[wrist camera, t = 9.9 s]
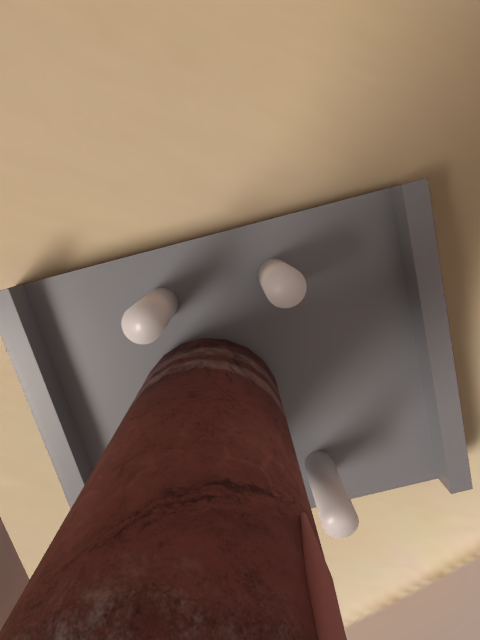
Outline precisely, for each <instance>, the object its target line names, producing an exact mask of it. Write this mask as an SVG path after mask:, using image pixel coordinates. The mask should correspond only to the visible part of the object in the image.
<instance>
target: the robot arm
mask: <svg viewBox="0 0 480 640" xmlns="http://www.w3.org/2000/svg"><path fill="white" fill-rule="evenodd" d="M29 581H30V580H29V578H28V576H27V574H26V571H25V569H24V567H23V565H22V563H21V561H20V559H19V556H18V554H17V552H16V550H15V548H14V546H13V544H12V541H11V539H10V537H9V535H8V533H7V531H6V529H5V527H4V524H3V522H2V520H1V518H0V631H1V629H2V627H3V625H4V624H5V622H6V620H7V619H8V617H9V615H10V613H11V612H12V610H13V608H14V606H15V605H16V603H17V601H18V600H19V598H20V596H21V594H22V593H23V591H24V589H25V587H26V586H27V584H28V582H29Z"/></svg>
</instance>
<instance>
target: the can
mask: <svg viewBox="0 0 480 640" xmlns="http://www.w3.org/2000/svg"><path fill="white" fill-rule="evenodd" d="M0 640H347V639H346V635H345V631H344V626H343V622H342V618H341V613H340V609H339V605H338V601H337V596H336V592H335V588H334V583H333V579H332V576H331V574H330V571H329V569H328V566H327V564H326V562H325V558H324V555H323V551H322V547H321V544H320V540H319V536H318V533H317V529H316V525H315V522H314V518H313V515H312V511H311V507H310V504H309V500H308V496H307V493H306V489H305V485H304V482H303V478H302V474H301V471H300V467H299V463H298V460H297V456H296V452H295V449H294V445H293V441H292V438H291V434H290V430H289V427H288V423H287V419H286V416H285V412H284V409H283V405H282V401H281V398H280V394H279V390H278V387H277V383H276V379H275V377H274V376H273V374H272V372H271V371H270V369H269V368H268V366H267V365H266V363H265V362H264V360H262V359H261V358H260V357H259V356H257V355H256V354H255V353H254V352H252V351H251V350H250V349H249V348H247V347H245V346H242V345H240V344H237V343H234V342H232V341H229V340H227V339H211V338H202V339H198V340H194V341H190V342H186V343H182V344H181V345H179V346H177V347H176V348H174V349H173V350H171V351H169V352H168V353H166V354H165V355H163V357H162V358H161V359H160V360H159V362H158V363H157V364H156V365H155V366H154V368H153V369H152V370H151V371H150V373H149V375H148V376H147V378H146V380H145V382H144V383H143V385H142V387H141V389H140V390H139V392H138V394H137V395H136V397H135V399H134V401H133V402H132V404H131V406H130V408H129V409H128V411H127V413H126V414H125V416H124V418H123V420H122V421H121V423H120V425H119V427H118V428H117V430H116V432H115V434H114V435H113V437H112V439H111V440H110V442H109V444H108V446H107V447H106V449H105V451H104V453H103V454H102V456H101V458H100V459H99V461H98V463H97V465H96V466H95V468H94V470H93V472H92V473H91V475H90V477H89V478H88V480H87V482H86V484H85V485H84V487H83V489H82V491H81V492H80V494H79V496H78V498H77V499H76V501H75V503H74V504H73V506H72V508H71V510H70V511H69V513H68V515H67V517H66V518H65V520H64V522H63V523H62V525H61V527H60V529H59V530H58V532H57V534H56V536H55V537H54V539H53V541H52V542H51V544H50V546H49V548H48V549H47V551H46V553H45V555H44V556H43V558H42V560H41V561H40V563H39V565H38V567H37V568H36V570H35V572H34V574H33V575H32V577H31V579H30V581H29V582H28V584H27V586H26V587H25V589H24V591H23V593H22V594H21V596H20V598H19V600H18V601H17V603H16V605H15V606H14V608H13V610H12V612H11V613H10V615H9V617H8V619H7V620H6V622H5V624H4V625H3V627H2V629H1V631H0Z"/></svg>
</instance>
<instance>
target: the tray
mask: <svg viewBox="0 0 480 640" xmlns="http://www.w3.org/2000/svg"><path fill="white" fill-rule="evenodd" d="M0 335H1V337H2V340H3V342H4V345H5V347H6V350H7V352H8V355H9V357H10V360H11V362H12V365H13V367H14V370H15V372H16V375H17V377H18V379H19V382H20V384H21V387H22V389H23V392H24V394H25V397H26V399H27V402H28V404H29V407H30V409H31V412H32V414H33V417H34V419H35V422H36V424H37V427H38V429H39V432H40V434H41V437H42V439H43V442H44V444H45V446H46V449H47V451H48V454H49V456H50V459H51V461H52V464H53V466H54V469H55V471H56V474H57V476H58V479H59V481H60V484H61V486H62V489H63V491H64V494H65V496H66V499H67V501H68V504H69V506H70V509H71V508H72V506H73V504H74V503H75V501H76V499H77V498H78V496H79V494H80V492H81V491H82V489H83V487H84V485H85V484H86V482H87V480H88V478H89V477H90V475H91V473H92V472H93V470H94V468H95V466H96V465H97V463H98V461H99V459H100V458H101V456H102V454H103V453H104V451H105V449H106V447H107V446H108V444H109V442H110V440H111V439H112V437H113V435H114V434H115V432H116V430H117V428H118V427H119V425H120V423H121V421H122V420H123V418H124V416H125V414H126V413H127V411H128V409H129V408H130V406H131V404H132V402H133V401H134V399H135V397H136V395H137V394H138V392H139V390H140V389H141V387H142V385H143V383H144V382H145V380H146V378H147V376H148V375H149V373H150V371H151V370H152V369H153V368H154V366H155V365H156V364H157V363H158V362H159V360H160V359H161V358H162V357H163V355H165V354H166V353H168V352H169V351H171V350H173V349H174V348H176V347H177V346H179V345H181V344H182V343H186V342H190V341H194V340H198V339H202V338H211V339H227V340H229V341H232V342H234V343H237V344H240V345H242V346H245V347H247V348H249V349H250V350H251V351H252V352H254V353H255V354H256V355H257V356H259V357H260V358H261V359H262V360H264V362H265V363H266V365H267V366H268V368H269V369H270V371H271V372H272V374H273V376H274V377H275V379H276V383H277V387H278V390H279V394H280V398H281V401H282V405H283V409H284V412H285V416H286V419H287V423H288V427H289V430H290V434H291V438H292V441H293V445H294V449H295V452H296V456H297V460H298V463H299V467H300V471H301V474H302V478H303V482H304V485H305V489H306V493H307V496H308V500H309V504H310V507H311V508H314V507H317V510H318V513H319V516H320V520H321V523H322V526H323V529H324V531H325V532H326V533H327V534H328V535H329V536H331V537H334V538H345V537H348V536H350V535H351V534H353V533H354V532H355V530H356V529H357V527H358V523H359V520H358V516H357V514H356V512H355V509H354V507H353V505H352V502H351V500H350V499H352V498H356V497H361V496H365V495H369V494H373V493H378V492H382V491H386V490H390V489H395V488H399V487H403V486H407V485H412V484H416V483H420V482H424V481H429V480H433V479H437V478H438V479H439V480H440V481H441V482H442V484H443V485H444V486H445V487H446V488H447V490H448V491H449V492H450V493H451V494H453V493H457V492H462V491H466V490H470V489H473V488H472V481H471V474H470V467H469V460H468V453H467V446H466V440H465V433H464V426H463V419H462V412H461V405H460V398H459V391H458V384H457V378H456V371H455V364H454V357H453V350H452V343H451V336H450V329H449V322H448V316H447V309H446V302H445V295H444V288H443V281H442V274H441V267H440V260H439V254H438V247H437V240H436V233H435V226H434V219H433V212H432V205H431V198H430V192H429V185H428V178H424V179H420V180H417V181H413V182H409V183H405V184H401V185H398V186H394V187H390V188H386V189H383V190H379V191H375V192H371V193H367V194H364V195H360V196H356V197H352V198H348V199H345V200H341V201H337V202H333V203H329V204H326V205H322V206H318V207H314V208H311V209H307V210H303V211H299V212H295V213H292V214H288V215H284V216H280V217H276V218H273V219H269V220H265V221H261V222H257V223H254V224H250V225H246V226H242V227H238V228H235V229H231V230H227V231H223V232H219V233H216V234H212V235H208V236H204V237H200V238H197V239H193V240H189V241H185V242H181V243H178V244H174V245H170V246H166V247H163V248H159V249H155V250H151V251H147V252H144V253H140V254H136V255H132V256H128V257H125V258H121V259H117V260H113V261H109V262H106V263H102V264H98V265H94V266H90V267H87V268H83V269H79V270H75V271H71V272H68V273H64V274H60V275H56V276H52V277H49V278H45V279H41V280H37V281H34V282H30V283H26V284H22V285H18V286H14V287H11V288H7V289H3V290H0Z"/></svg>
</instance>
